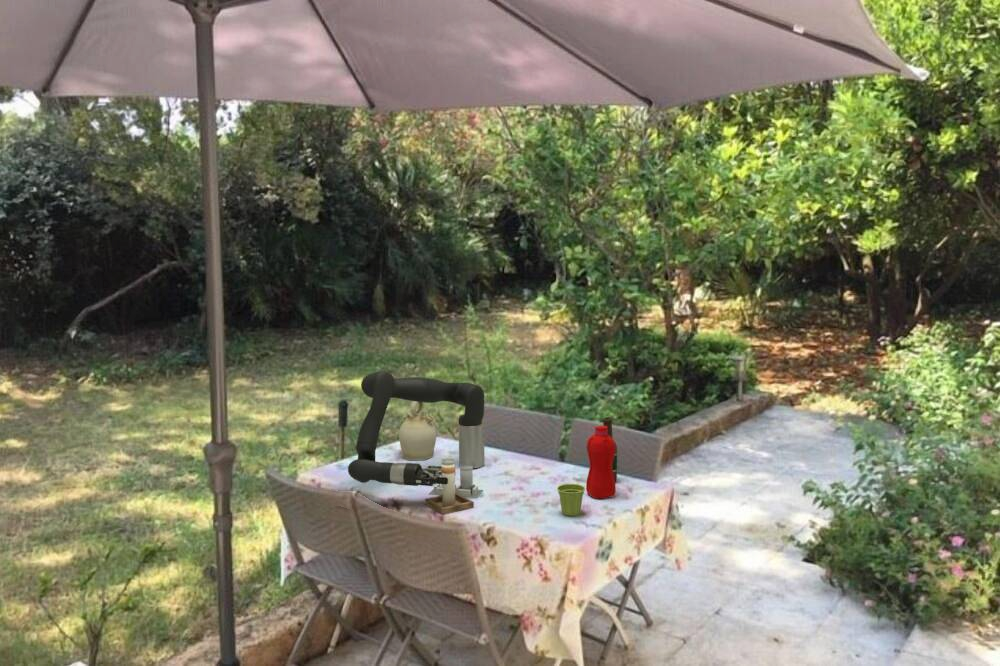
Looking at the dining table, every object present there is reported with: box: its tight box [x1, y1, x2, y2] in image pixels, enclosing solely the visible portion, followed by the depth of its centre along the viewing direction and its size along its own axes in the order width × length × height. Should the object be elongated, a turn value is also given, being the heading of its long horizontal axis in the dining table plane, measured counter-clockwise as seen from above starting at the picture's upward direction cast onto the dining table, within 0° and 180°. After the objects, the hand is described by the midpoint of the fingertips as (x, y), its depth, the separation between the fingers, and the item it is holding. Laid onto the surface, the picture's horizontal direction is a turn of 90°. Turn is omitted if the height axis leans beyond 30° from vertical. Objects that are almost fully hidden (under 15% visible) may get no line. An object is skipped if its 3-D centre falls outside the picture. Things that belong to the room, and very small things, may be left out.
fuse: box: [459, 464, 474, 494], centre depth 288 cm, size 4×4×10 cm
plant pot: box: [556, 483, 586, 517], centre depth 270 cm, size 9×9×9 cm
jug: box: [398, 401, 437, 461], centre depth 336 cm, size 15×16×25 cm
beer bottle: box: [602, 416, 618, 483], centre depth 302 cm, size 8×8×24 cm
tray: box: [424, 492, 475, 516], centre depth 276 cm, size 12×12×3 cm
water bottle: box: [585, 425, 617, 500], centre depth 287 cm, size 9×11×25 cm
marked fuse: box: [440, 457, 456, 507], centre depth 275 cm, size 5×5×16 cm
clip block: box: [427, 483, 484, 499], centre depth 290 cm, size 18×9×3 cm, turn 76°
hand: (451, 477), depth 275 cm, fingers open, 8 cm apart
